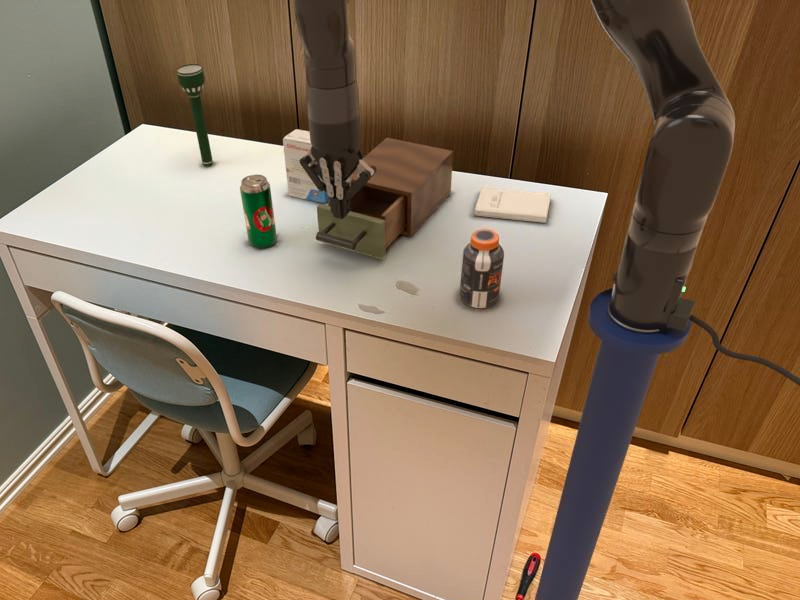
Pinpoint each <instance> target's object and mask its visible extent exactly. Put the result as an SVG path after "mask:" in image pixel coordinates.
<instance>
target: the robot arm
mask: <svg viewBox="0 0 800 600" xmlns="http://www.w3.org/2000/svg"><path fill="white" fill-rule="evenodd" d="M350 1H351V0H292V2H293V12H294V17H295V22H296V26H297V30H298V33H299V37H300V41H301V44H302V46H303V51H304V53H303V54H304V68H305V78H306V79H305V80H306V93H305V95H306V97H305V98H306V109H307V111H306V112H307V120H308V131H309V133H310V142H311V144H312V147H311V150H310V151H311V152H309V153H308V154H306V155H305V156H303V157H302V158H301V159H300V161H299V162H300V164H301V166H302V167H303V169H304V170H305V171H306V173H307V174H308V176H309V177H310V179H311V180H312V181H313V183H314V184H315V186H316V187H317V189H318V190H319V191H321V192H322V191H325V192H327V194H328V196H329V197H330V199H329V201H330V209H331V212H332V213H333V217H335V218H339V219H343V218H344V217H345V216H346V215H347V214H348V213H349V212H350V198H352V197H353V196H355V195H356V194H357V193H358V192H359V191H360V190H361V189H362V188H363V186H364V185H365V184H366V183H367V182H368V181H369V179H370V178H371V177H372V176H373V175H374V174H375V173H376V171H377V169H376V167H375V166H373V165H372V166H370V167H369V166H368V165H367V164H366V163H365V162H364V161H363V158H364V153H363V152H362V150H361V140H362V133H361V131H362V130H361V112H360V111H361V110H360V93H359V86H358V79H357V60H356V59H357V58H356V48H355V43H354V40H353V38H352V37H351V36H350V35H349V25H348V4H349V2H350ZM589 2H590V5H591V7H592V9H593V13H594V14H595V16H596V18H597V20H598V22H599V24H600V26H601V27H602V29H603V30H604V31H605V33H606V34H607V36H608V37H609V39H610V40H611V41H612V42H613V43H614V45H615V46H616V47H617V48H618V49H619V51H620V52H621V53H622V54H623V55H624V56H625V57H626V59H627V60H628V61H629V62H630V63H631V65H632V66H633V68H634V69H635V71H636V73H637V74H638V76H639V78H640V81H641V83H642V86H643V89H644V91H645V94H646V97H647V100H648V103H649V108H650V111H651V114H652V119H653V125H654V127H653V129H652V130H653V131H652V134H651V137H650V141H649V144H648V147H647V151H646V156H645V159H644V163H643V167H642V170H641V175H640V179H639V183H638V188H637V191H636V195H635V199H634V200H635V201H634V204H633V208H632V212H631V215H630V219H629V224H628V227H627V232H626V235H625V239H624V243H623V248H622V251H621V256H620V260H619V263H618V267H617V271H616V272H615V273H614V274H612V279H611V283H613V282H614V283H613V287H612V288H613V291H612V295H611V297H610V302H609V304H608V308H607V313H608V316H609V318H610V319H611V320H612V321H613V322H614V323H615V324H616V325H618V326H619V327H621V328H623V329H625V330H628V331H631V332H634V333H640V334H655V333H661V334H665V335H666V334H667V333H668V331H669V328H674V329H677V330H681V331H685V328H686V326H687V323H688V321H689V320H691V323H693V324H696V325H697V326H699V327H701V328H702V329H703V330H704V331H706V332H707V333H708V334H709V336H710V337H711V341H712V345H713V346H714V348H715V349H716V350H717V351H718V352H720V353H721V354H723V355H724V356H727V357H730V358H732V359H737V360H742V361H748V362H752V363H756V364H760V365H762V366H765V367H767V368H769V369H771V370H773V371H775V372H776V373H778V374H780V375H781V376H783V377H785V378H787V379H788V380H789V381H791V382H793V383H794V384H796V385H797V386H799V387H800V378H799V376H797V375H796V374H793V373H792V372H791V371H789V370H787V369H785V368H784V367H781V366H780V365H778V364H777V363H775V362H773V361H770V360H768V359H766V358H762V357H760V356H755V355H752V354H751V355H750V354H745V353H740V352H736V351H733V350H730V349H727V348H726V347H724V345H722V344H721V343H720V339H719V335H718V333H717V332H716V331H715V329H713V328H712V327H711V325H709V324H708V323H707V322H705V321H704V320H702V319H700V318H698V317H696V316H695V315H694V314H693V310H694V307H695V305H696V301H695V300H692V299H688V298H684V297H683V295H684V293H685V291H686V285H687V281H688V280H689V279H688V278H689V276H690V273H691V270H692V267H693V264H694V258H695V255H696V252H697V249H698V246H699V243H700V240H701V237H702V234H703V231H704V228H705V225H706V223H707V220H708V217H709V214H710V213H711V211H712V209H713V208H714V204H715V202H716V198H717V196H718V194H719V191H720V188H721V185H722V182H723V180H724V177H725V174H726V171H727V168H728V166H729V162H730V159H731V155H732V152H733V147H734V141H735V140H734V139H735V132H736V131H735V129H736V116H735V111H734V107H732V104H731V102H730V100H729V98H728V97H727V95H726V93H725V92H724V89H723V88H722V86H721V84H720V83H719V80H718V78H717V77H716V75H715V73H714V71H713V69H712V68H711V67H712V66H711V65H710V63H709V62H708V60H707V58H706V56H705V54H704V52H703V50H702V47H701V44H700V43H699V39H698V37H697V32H696V30H695V29H696V28H695V26H694V21H693V17H692V14H691V10H690V7H689V3H688V0H589ZM356 168H358V172H357V177H358V179H357V180H356V182H355V183H354V184H353V185H352V186H351V180H352V177H353V172H354V171H355V170H356ZM318 175H319V176H320V178H321V179H322V181H321V180H320V178H319V177H318Z"/></svg>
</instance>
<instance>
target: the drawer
mask: <svg viewBox="0 0 800 600" xmlns="http://www.w3.org/2000/svg"><path fill="white" fill-rule="evenodd" d="M353 184H354V183H351V186H352V185H353ZM316 214H317V217H316V218H317V226H318V227H317V228H318V232H317V233H315V240H316V241H319V242H322V243H324V244H327V245H328V244H329V245H332V246H335V247H339V248H342V249H346V250H350V251H353V252H356V253H360V254H363V255H366V256H371V257H374V258H378V259H381V260H383V259H384V258H385V257H386V255H387V254H386V249H387V248H388V247H389V246H390V245H391V244H392V243H394V241H395V240H396V239H397V238H398V236H400V235H401V234H400V233H401V232H402V231H403V230H404V229H405V228H406V227H407V196H405V195H400V194H396V193H392V192H388V191H384V190H380V189H375V188H371V187H367V186H363V188H362V189H361V190H360V191H359V192H358V193H357V194H356V195H355V196H353V197H352V198H350V212H349V213H348V214H347V215H346V216H345V217H344V218H343V219H339V218H335V217H333V213H332V212H331V209H330V200H328V201H327V204H324V203H319V204H318V205H317V206H316Z"/></svg>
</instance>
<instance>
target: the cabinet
mask: <svg viewBox="0 0 800 600" xmlns="http://www.w3.org/2000/svg"><path fill="white" fill-rule="evenodd" d="M363 161H364V162H365V163H366V164H367V165H368V166H369V167H370V166H372V165H373V166H375V167H376V169H377V171H376V173H375V174H374V175H373V176H372V177H371V178H370V179H369V181H368V182H367V183H366V184H365V185H364V186H367V187H371V188H375V189H380V190H384V191H388V192H392V193H396V194H400V195H405V196H407V227H406V228H405V229H404V230H403V231H402V232H401V233H400V234H399V235H402V236H407V237H409V238H410V237H412V236H413V235H414V234H415V233H416V232H417V231H418V230H419V229H420V228H421V226H422V225H424V223H425V222H426V221H427V220H428V219H429V218H430V216H431V215H432V214H434V213H435V211H436V210H437V209H438V208H439V207H440V206H441V205H442V204H443V203H444V202H445V200H447V198H449V196H450V195H451V193H452V178H453V161H454V150H450V149H446V148H440V147H435V146H430V145H426V144H420V143H417V142H411V141H405V140H401V139H395V138H392V137H391V138H390V137H386V138H384V139H383V140H382V141H381V142H380V143H379V144H378V145H376V146H375V147H374V148H373V149H372V150H371V151H370V152H368V153H367V154H366V155H365V156H363ZM357 172H358V168H356V170H355V171H354V172H353V177H352V180H351V183H355V182H356V180H357V179H358V177H357Z"/></svg>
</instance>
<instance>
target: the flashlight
mask: <svg viewBox="0 0 800 600" xmlns="http://www.w3.org/2000/svg"><path fill="white" fill-rule="evenodd" d="M176 77H177V81H178V84H179V86H180V88H181V89H182V91H183V92H184V93H185V94H187V96H188V98H189V102H190V108H191V112H192V117H193V124H194V128H195V133H196V137H197V142H198V148H199V153H200V159H201V163H202V166H204V167H206V168H208V167H212V166H213V165H214V160H213V155H212V154H213V153H212V150H211V144H210V139H209V134H208V128H207V124H206V117H205V113H204V107H203V103H202V97H201V93H202V91H203V89H204V86H205V82H206V81H205V80H206V78H205V73H204V69H203V66H202V65H201V64H197V63H190V64H185V65H182V66H179V67H178V68H177V69H176Z"/></svg>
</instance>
